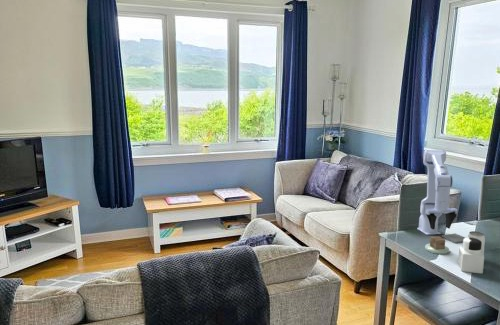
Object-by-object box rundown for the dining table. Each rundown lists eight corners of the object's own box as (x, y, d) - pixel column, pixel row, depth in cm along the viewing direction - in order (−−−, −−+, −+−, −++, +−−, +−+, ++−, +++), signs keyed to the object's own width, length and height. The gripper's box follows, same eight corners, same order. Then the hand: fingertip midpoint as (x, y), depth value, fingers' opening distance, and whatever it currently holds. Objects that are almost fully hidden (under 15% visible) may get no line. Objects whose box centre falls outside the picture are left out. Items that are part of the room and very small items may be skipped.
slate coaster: (441, 236, 190) (441, 235, 190) (455, 234, 193) (455, 233, 193) (455, 243, 182) (455, 241, 182) (469, 241, 184) (470, 239, 184)
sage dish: (420, 246, 179) (420, 243, 179) (440, 245, 180) (440, 242, 180) (433, 254, 169) (433, 252, 169) (453, 253, 170) (453, 251, 170)
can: (462, 256, 167) (464, 231, 165) (476, 255, 168) (478, 230, 165) (472, 262, 161) (474, 236, 159) (486, 262, 161) (489, 235, 159)
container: (478, 265, 158) (481, 236, 156) (482, 274, 151) (485, 243, 148) (457, 263, 160) (460, 235, 158) (461, 271, 153) (464, 241, 151)
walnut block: (429, 245, 176) (430, 236, 176) (438, 245, 177) (439, 236, 176) (435, 249, 172) (436, 240, 171) (444, 249, 172) (445, 239, 172)
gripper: (432, 203, 167) (430, 232, 169) (462, 201, 168) (460, 230, 171) (423, 199, 174) (421, 226, 176) (452, 197, 175) (450, 225, 177)
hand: (440, 228), depth 174 cm, fingers open, 7 cm apart
